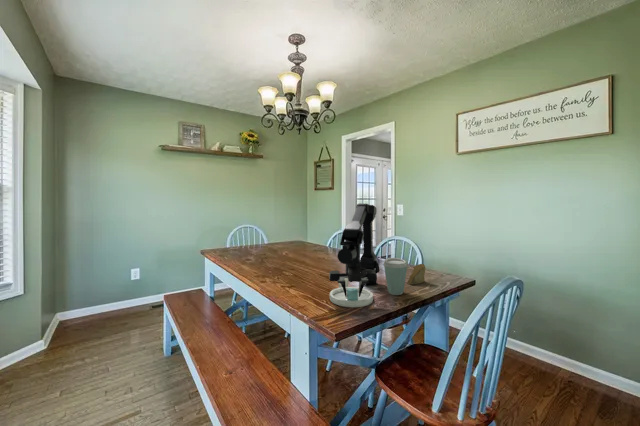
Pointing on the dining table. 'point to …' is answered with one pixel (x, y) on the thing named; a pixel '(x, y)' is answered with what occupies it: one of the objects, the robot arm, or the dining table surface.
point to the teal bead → (352, 294)
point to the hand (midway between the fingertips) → (352, 296)
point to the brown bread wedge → (417, 275)
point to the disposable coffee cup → (395, 275)
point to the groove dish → (340, 299)
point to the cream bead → (345, 283)
